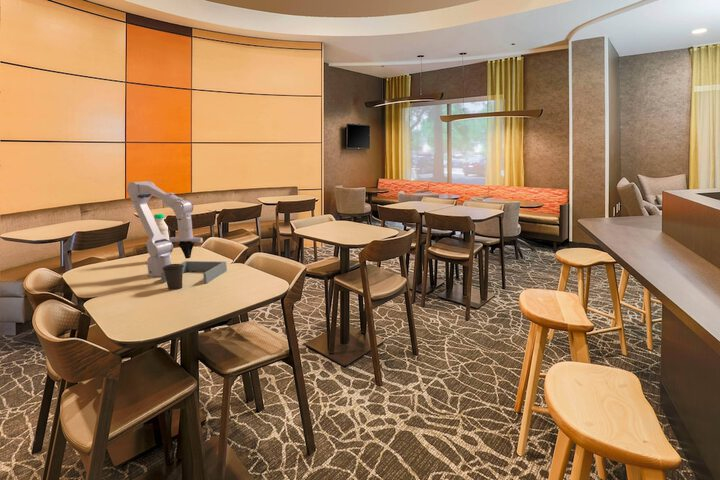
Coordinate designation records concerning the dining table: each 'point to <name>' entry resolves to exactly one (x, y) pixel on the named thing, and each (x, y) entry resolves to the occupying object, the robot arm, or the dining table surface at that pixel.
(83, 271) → the dining table surface
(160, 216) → the water bottle
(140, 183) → the robot arm
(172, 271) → the coffee cup
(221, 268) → the gray rectangular arch
